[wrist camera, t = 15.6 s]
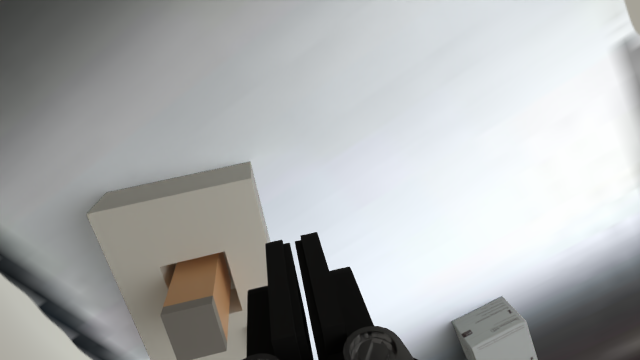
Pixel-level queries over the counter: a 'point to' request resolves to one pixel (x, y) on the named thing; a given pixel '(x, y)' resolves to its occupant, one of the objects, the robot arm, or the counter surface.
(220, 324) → the two-tone square block
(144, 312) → the socket plate
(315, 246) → the robot arm
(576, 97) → the counter surface
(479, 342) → the small box
